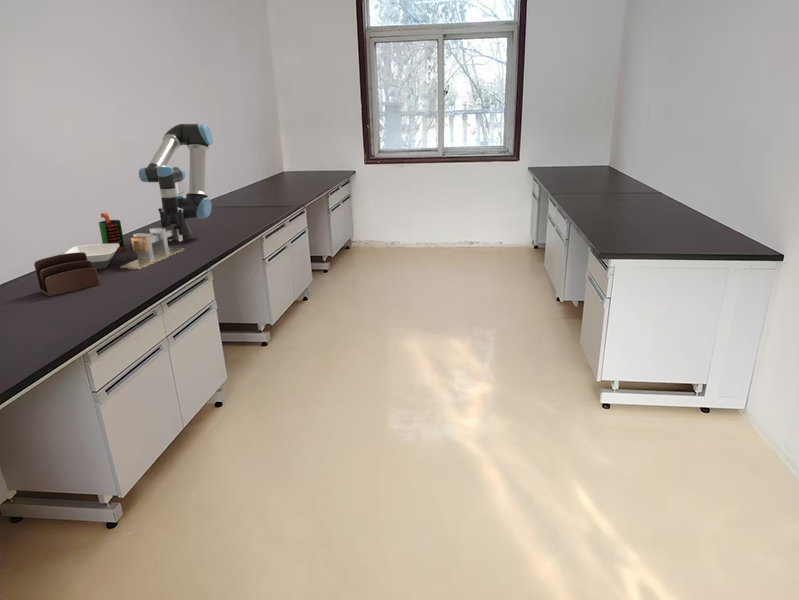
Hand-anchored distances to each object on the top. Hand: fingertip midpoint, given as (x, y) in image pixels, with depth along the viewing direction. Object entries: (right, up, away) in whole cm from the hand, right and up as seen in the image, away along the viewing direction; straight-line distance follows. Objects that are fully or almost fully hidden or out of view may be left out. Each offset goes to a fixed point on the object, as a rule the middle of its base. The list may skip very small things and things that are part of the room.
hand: (175, 240), depth 285 cm
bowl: (-27, -16, -28) cm, 42 cm away
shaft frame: (-4, -11, -16) cm, 19 cm away
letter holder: (-21, -27, -57) cm, 67 cm away
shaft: (-3, -3, -11) cm, 12 cm away
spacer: (-6, -8, -25) cm, 27 cm away
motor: (-32, -6, -1) cm, 33 cm away
